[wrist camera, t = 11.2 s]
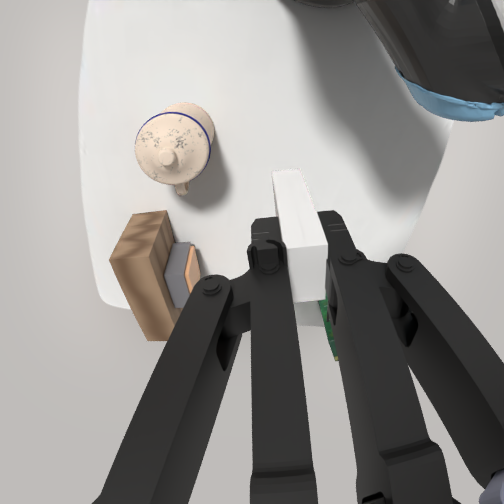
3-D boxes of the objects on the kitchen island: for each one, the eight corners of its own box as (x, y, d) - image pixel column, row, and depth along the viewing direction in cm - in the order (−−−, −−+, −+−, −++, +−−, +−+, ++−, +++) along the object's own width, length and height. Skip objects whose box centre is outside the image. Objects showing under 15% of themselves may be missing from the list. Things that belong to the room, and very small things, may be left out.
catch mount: (166, 210, 47) (148, 256, 38) (188, 291, 58) (180, 340, 49) (132, 214, 47) (108, 259, 38) (159, 292, 58) (147, 340, 49)
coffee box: (335, 308, 63) (349, 358, 52) (322, 312, 63) (334, 363, 53) (328, 283, 58) (344, 336, 48) (314, 287, 59) (327, 341, 48)
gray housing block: (193, 241, 49) (187, 273, 43) (201, 273, 54) (196, 307, 47) (145, 245, 50) (133, 277, 43) (155, 276, 54) (146, 309, 47)
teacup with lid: (149, 104, 37) (119, 124, 28) (214, 97, 37) (204, 113, 28) (160, 180, 44) (139, 220, 35) (219, 176, 44) (213, 216, 35)
